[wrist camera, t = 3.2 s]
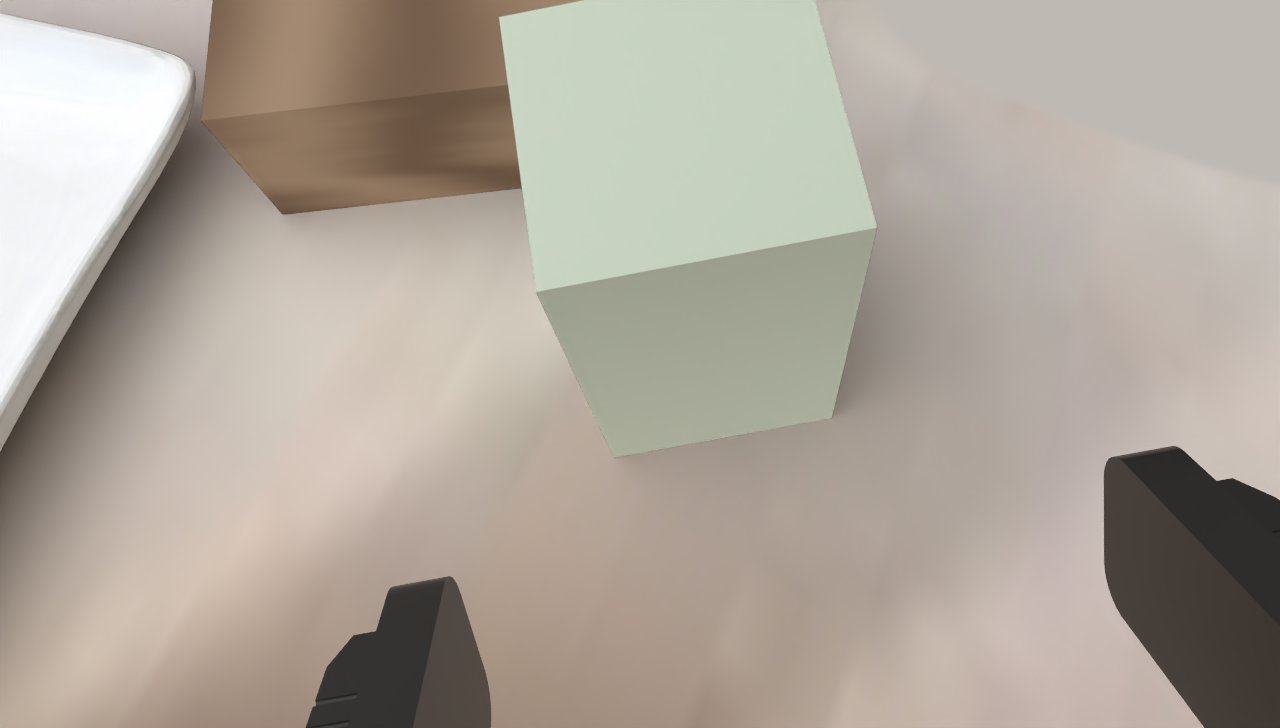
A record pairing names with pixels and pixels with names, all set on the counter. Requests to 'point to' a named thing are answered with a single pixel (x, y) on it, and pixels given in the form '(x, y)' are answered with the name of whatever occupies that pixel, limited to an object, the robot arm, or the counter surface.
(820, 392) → the sage block
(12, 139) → the salad plate
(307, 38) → the walnut block
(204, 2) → the counter surface
